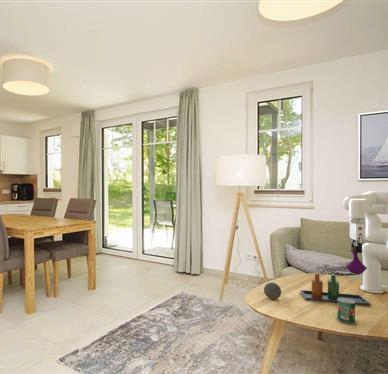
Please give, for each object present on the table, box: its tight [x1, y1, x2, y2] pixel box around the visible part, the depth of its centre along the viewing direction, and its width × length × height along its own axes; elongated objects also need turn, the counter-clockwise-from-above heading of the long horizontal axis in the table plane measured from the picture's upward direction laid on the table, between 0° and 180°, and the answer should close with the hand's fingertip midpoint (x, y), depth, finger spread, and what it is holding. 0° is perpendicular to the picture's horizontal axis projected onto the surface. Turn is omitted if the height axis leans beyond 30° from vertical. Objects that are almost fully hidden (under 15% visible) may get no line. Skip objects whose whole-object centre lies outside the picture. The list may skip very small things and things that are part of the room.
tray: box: [300, 289, 371, 307], centre depth 188 cm, size 34×14×2 cm, turn 74°
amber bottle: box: [311, 272, 324, 299], centre depth 190 cm, size 6×6×15 cm
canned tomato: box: [336, 297, 356, 325], centre depth 160 cm, size 8×8×11 cm
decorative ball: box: [263, 282, 282, 300], centre depth 190 cm, size 10×10×10 cm
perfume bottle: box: [345, 242, 367, 275], centre depth 176 cm, size 8×8×18 cm
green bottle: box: [327, 273, 340, 300], centre depth 187 cm, size 6×6×15 cm
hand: (356, 251), depth 176 cm, fingers closed on perfume bottle, 5 cm apart
